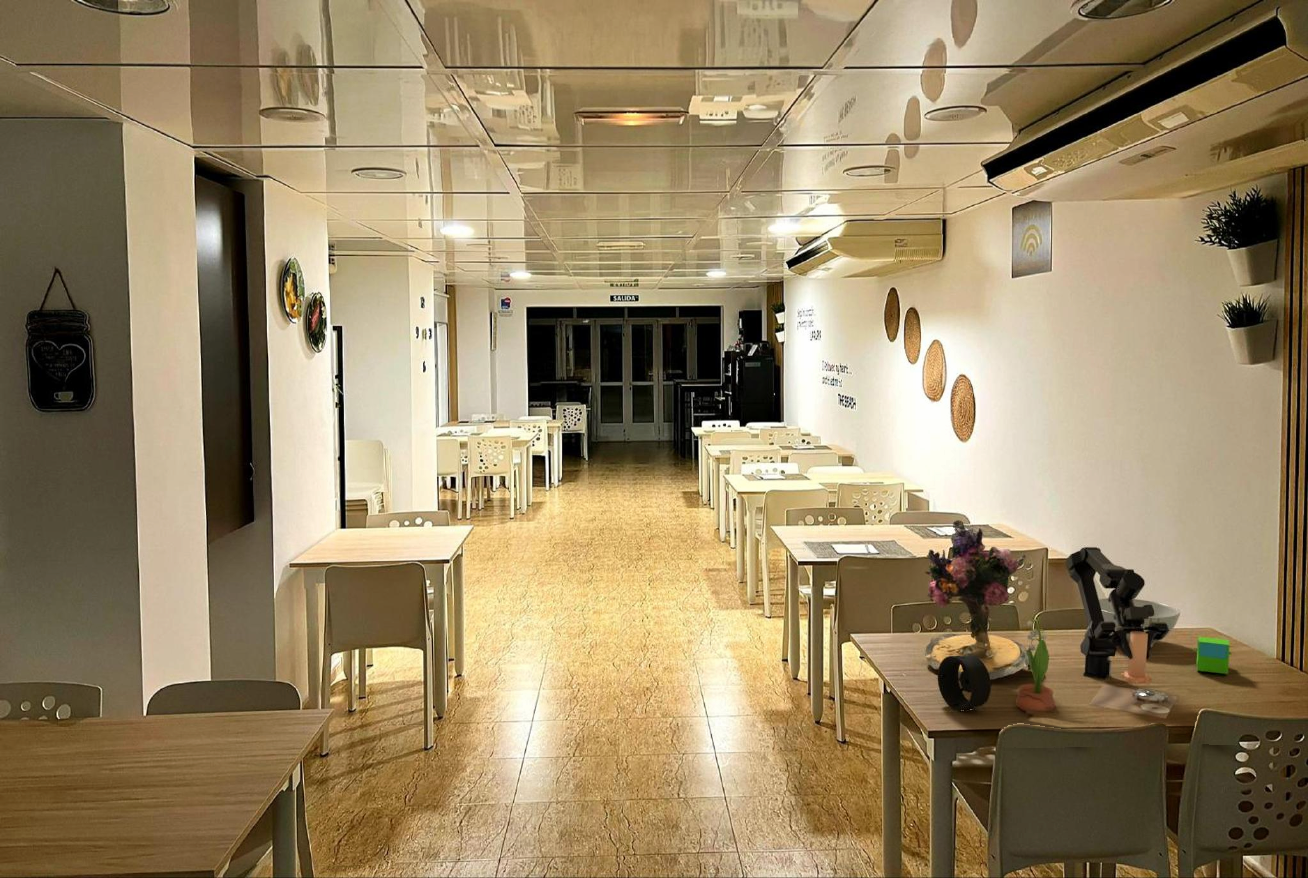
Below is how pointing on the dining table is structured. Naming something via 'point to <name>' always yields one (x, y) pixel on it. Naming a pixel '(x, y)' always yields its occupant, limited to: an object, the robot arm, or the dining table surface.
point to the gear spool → (1137, 659)
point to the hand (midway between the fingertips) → (1139, 658)
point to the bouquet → (974, 602)
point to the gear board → (1130, 702)
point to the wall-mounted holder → (964, 682)
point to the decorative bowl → (1160, 615)
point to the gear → (1150, 696)
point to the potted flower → (1036, 676)
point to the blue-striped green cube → (1213, 655)
